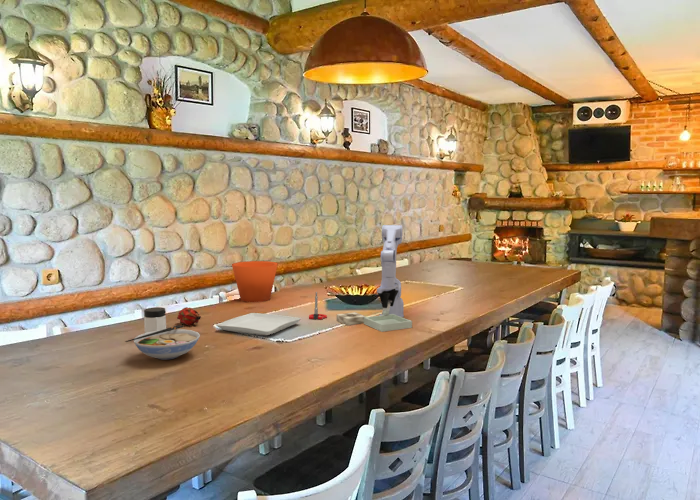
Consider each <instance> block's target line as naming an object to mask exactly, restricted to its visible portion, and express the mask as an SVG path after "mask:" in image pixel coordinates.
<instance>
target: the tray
mask: <svg viewBox="0 0 700 500" xmlns="http://www.w3.org/2000/svg"><path fill="white" fill-rule="evenodd" d="M363 324H364V325H366V326H368V327H370V328H372V329H375V330H377V331H378V332H383V333H384V332H390V331H397V330H405V329H411V328H413V320H410V319H407V318H405V317H400V316H397V315H394V314H389V316H383V315H380V314H379V315H374V316H366V317H364V323H363Z"/></svg>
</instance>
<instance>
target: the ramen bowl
mask: <svg viewBox="0 0 700 500" xmlns="http://www.w3.org/2000/svg"><path fill="white" fill-rule="evenodd" d="M184 325H185V324H183V325H182V324H177V325H174V326H170V327H168V328H167V327H166V329H164V330H158V331H152V332H147V333H145V332H144V333H142V334H138V335H137V336H135V337H134V338H132V339H128V340H126V341H124V342H126V343H127V342H132V341H133V343H134V344H135V347H137V349H138V350H139V351H140V352H141V353H142V354H144V355H146V356H148V357H150V358H155V359H158V360H162V361H163V360H164V361H166V360H174V359H176V358H179V357H180V356H182V355H184V354H187V353H188V352H190V351H191V350H192V349H193V348H194V347H195V345H197V342H198V341H199V339H200V336H201V334H200V333H199V332H198V331H196V330H195V331H194V330H191V329H184ZM182 328H183V329H182Z"/></svg>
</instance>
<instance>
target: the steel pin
mask: <svg viewBox="0 0 700 500" xmlns="http://www.w3.org/2000/svg"><path fill="white" fill-rule="evenodd" d="M391 302H392V300H389V299H388V306H387V308H383V307H382V311H381V314H382V315H383V316H389V310H390V303H391Z"/></svg>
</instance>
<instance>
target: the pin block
mask: <svg viewBox="0 0 700 500" xmlns="http://www.w3.org/2000/svg"><path fill="white" fill-rule="evenodd" d="M364 317H367V316H366V315H363V314H361V313H358V312H356V311H354V312H346V313H337V314H336V321H337V322H339V323H341V324H343V325H345V326H353V325H361V324H364Z"/></svg>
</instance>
